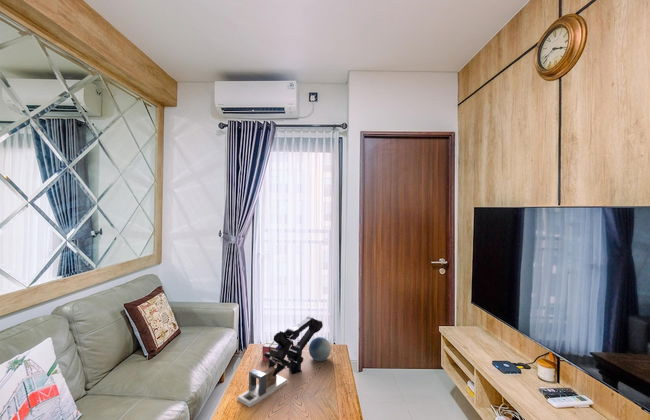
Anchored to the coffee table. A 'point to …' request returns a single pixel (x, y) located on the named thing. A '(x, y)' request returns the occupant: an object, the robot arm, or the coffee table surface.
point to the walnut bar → (270, 376)
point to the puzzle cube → (268, 348)
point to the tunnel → (262, 381)
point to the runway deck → (253, 396)
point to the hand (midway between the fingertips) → (270, 375)
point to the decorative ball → (319, 349)
